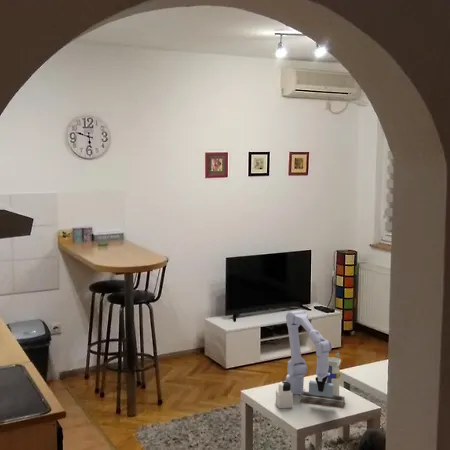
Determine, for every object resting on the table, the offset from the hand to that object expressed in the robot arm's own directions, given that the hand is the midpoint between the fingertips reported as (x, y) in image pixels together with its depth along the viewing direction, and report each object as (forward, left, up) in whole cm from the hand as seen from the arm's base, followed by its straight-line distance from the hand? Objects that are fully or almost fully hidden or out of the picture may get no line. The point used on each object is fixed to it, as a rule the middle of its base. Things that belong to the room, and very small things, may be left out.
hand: (321, 390), depth 309 cm
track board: (0, +6, -9) cm, 10 cm away
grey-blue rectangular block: (0, 0, -2) cm, 2 cm away
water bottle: (+4, +17, -9) cm, 20 cm away
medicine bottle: (-18, -5, -9) cm, 21 cm away
